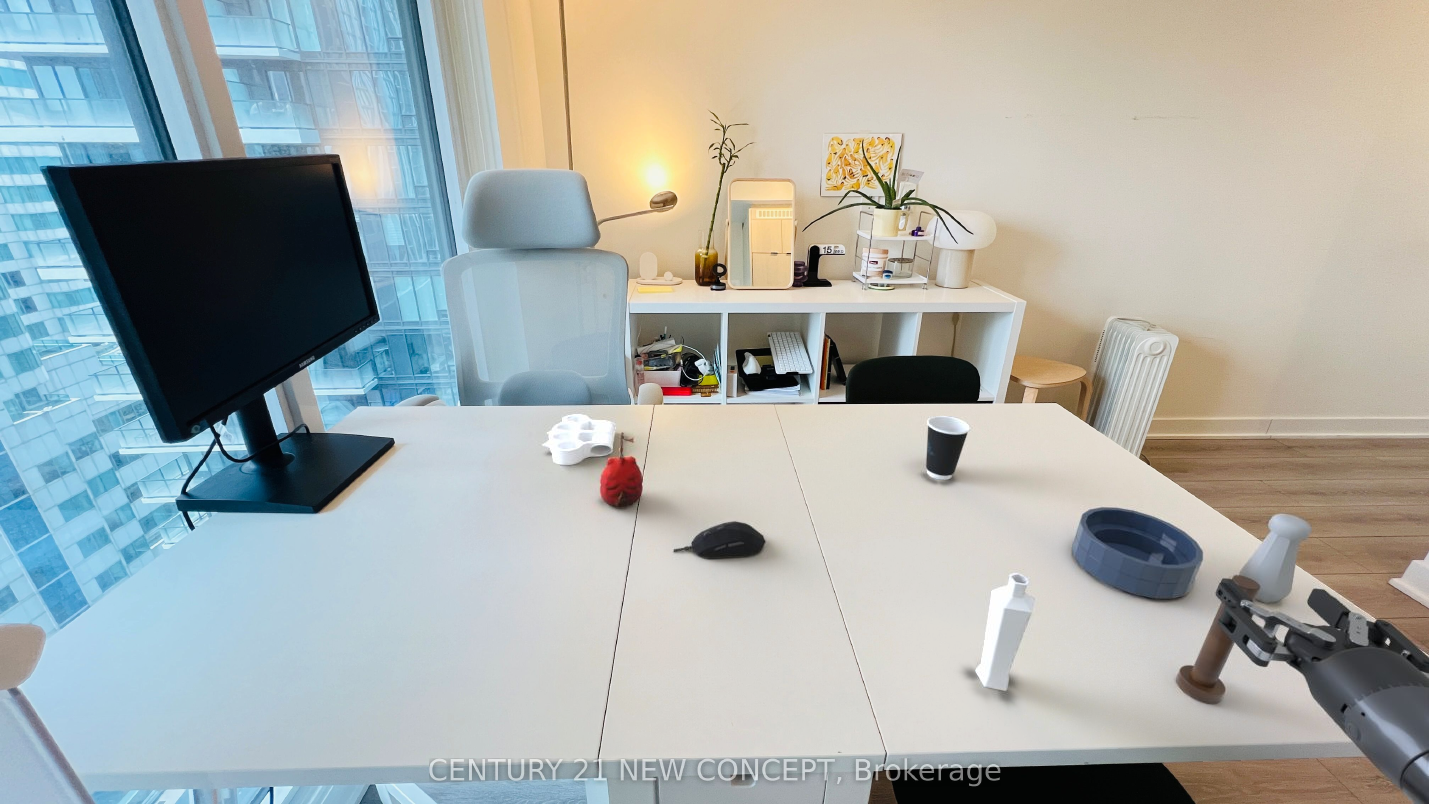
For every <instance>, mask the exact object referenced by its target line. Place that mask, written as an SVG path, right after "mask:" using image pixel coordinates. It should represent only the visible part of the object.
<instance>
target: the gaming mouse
mask: <svg viewBox="0 0 1429 804" xmlns="http://www.w3.org/2000/svg"><path fill="white" fill-rule="evenodd" d="M765 544H766V539H765V536H764V534H763V533H761V532H760V531H758V530H757V529H756V528H754V527H752V526H751V525H750V524H749V523H746V522H741V521H737V520H734V521H728V522H723V523H720V524H716V525H714V526H711V527H709V528H707V529H704V530H702V531H700V532H699V533H698V534H697V535H695V537H694V538H693V539H692V541H691V545H689V546H688V545H686V546H684V547H679V548H674V549H673V552H674V553H675V552H676V553H677V552H681V551H691V550H693V552H694V553H695V554H696V555H698V556H699V557H702V558H706V559H720V558H721V559H724V558H737V557H738V558H740V557H741V558H742V557H748V556H752V555H755V554H758V553H759V552H760V551H762V550H763V548H764V546H765Z"/></svg>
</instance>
